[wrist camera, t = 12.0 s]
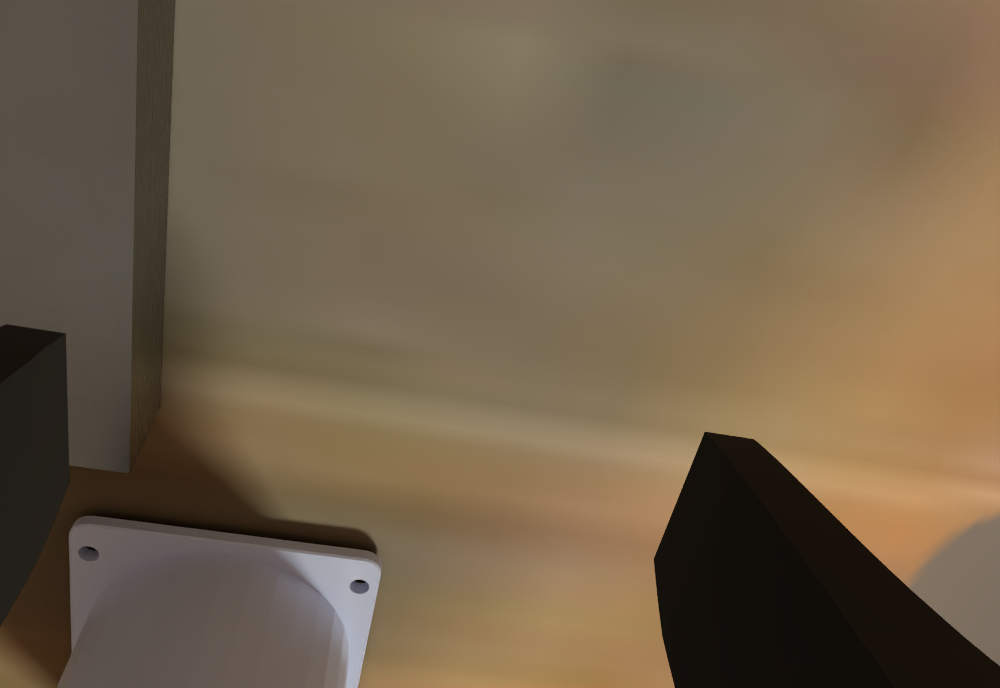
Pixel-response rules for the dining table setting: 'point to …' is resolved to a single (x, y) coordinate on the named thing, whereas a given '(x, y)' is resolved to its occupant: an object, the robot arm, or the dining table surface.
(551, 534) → the dining table surface
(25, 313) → the housing
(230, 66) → the dining table surface
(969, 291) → the dining table surface
